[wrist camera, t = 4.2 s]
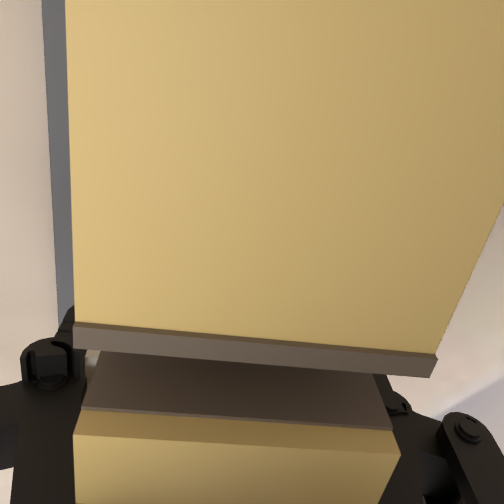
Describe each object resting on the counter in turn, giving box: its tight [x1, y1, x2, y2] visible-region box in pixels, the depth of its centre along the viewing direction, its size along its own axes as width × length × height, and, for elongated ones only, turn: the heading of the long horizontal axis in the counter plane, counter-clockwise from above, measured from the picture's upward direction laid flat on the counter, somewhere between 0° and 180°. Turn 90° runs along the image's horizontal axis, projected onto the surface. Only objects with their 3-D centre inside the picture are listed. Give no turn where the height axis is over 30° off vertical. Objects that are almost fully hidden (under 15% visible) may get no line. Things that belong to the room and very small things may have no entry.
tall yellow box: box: [65, 0, 504, 378], centre depth 10 cm, size 9×6×12 cm, turn 171°
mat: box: [42, 0, 74, 327], centre depth 19 cm, size 26×14×1 cm, turn 171°
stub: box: [73, 351, 401, 504], centre depth 14 cm, size 6×6×12 cm
